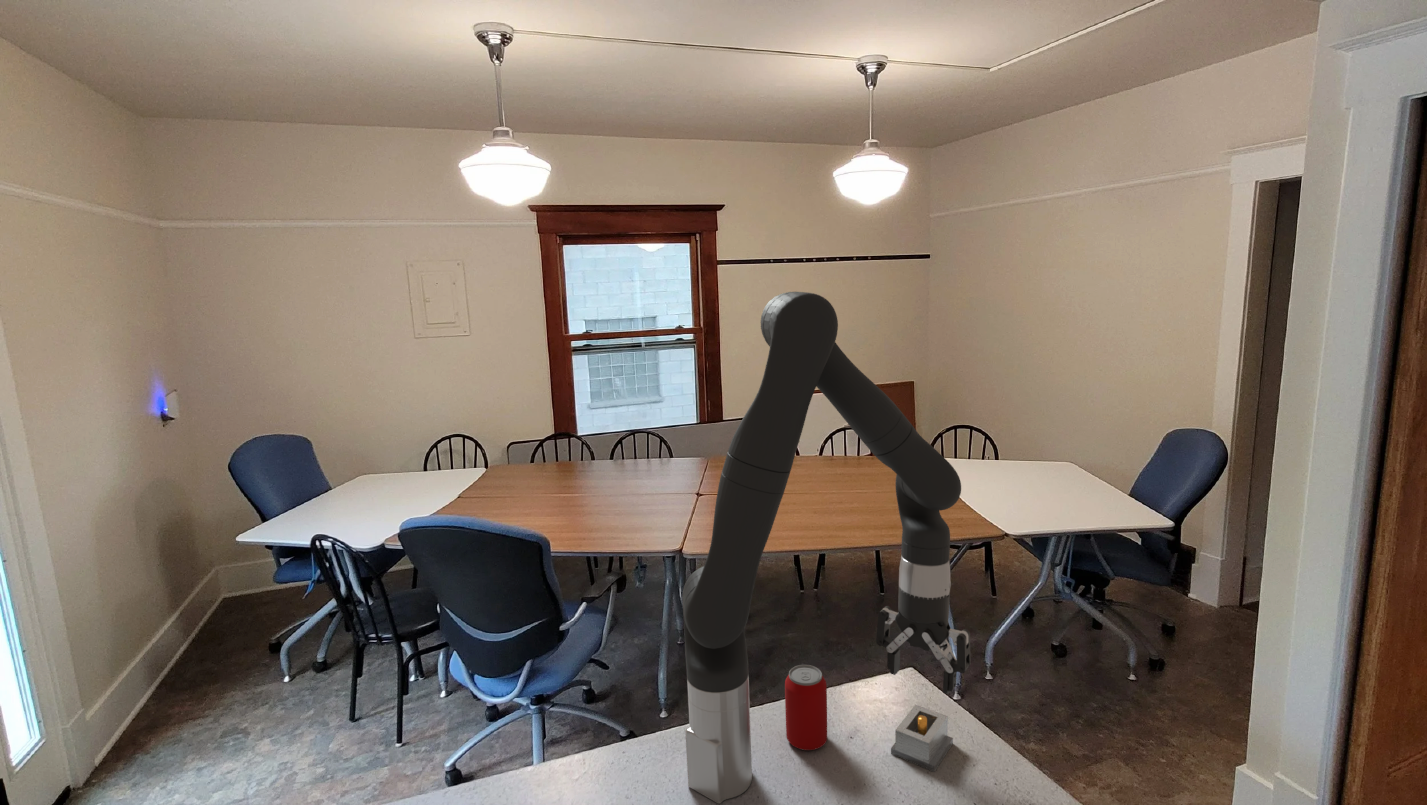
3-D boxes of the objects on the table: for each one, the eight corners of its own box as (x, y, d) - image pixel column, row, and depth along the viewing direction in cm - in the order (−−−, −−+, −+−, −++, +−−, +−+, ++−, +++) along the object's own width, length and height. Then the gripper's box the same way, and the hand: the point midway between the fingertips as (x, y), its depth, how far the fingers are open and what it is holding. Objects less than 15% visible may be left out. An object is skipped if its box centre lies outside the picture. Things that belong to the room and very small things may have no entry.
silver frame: (928, 763, 102) (929, 743, 102) (895, 749, 106) (895, 729, 105) (947, 735, 108) (947, 716, 108) (915, 723, 112) (915, 704, 111)
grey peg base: (934, 772, 102) (934, 740, 101) (891, 753, 106) (891, 722, 105) (952, 743, 108) (953, 713, 107) (911, 727, 112) (911, 698, 111)
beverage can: (826, 727, 113) (825, 662, 111) (829, 755, 107) (827, 686, 105) (786, 726, 114) (784, 662, 112) (786, 753, 107) (784, 685, 105)
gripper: (870, 581, 104) (868, 677, 107) (962, 606, 95) (958, 710, 98) (890, 565, 110) (888, 656, 113) (979, 588, 101) (974, 686, 104)
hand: (920, 681), depth 105 cm, fingers open, 8 cm apart
